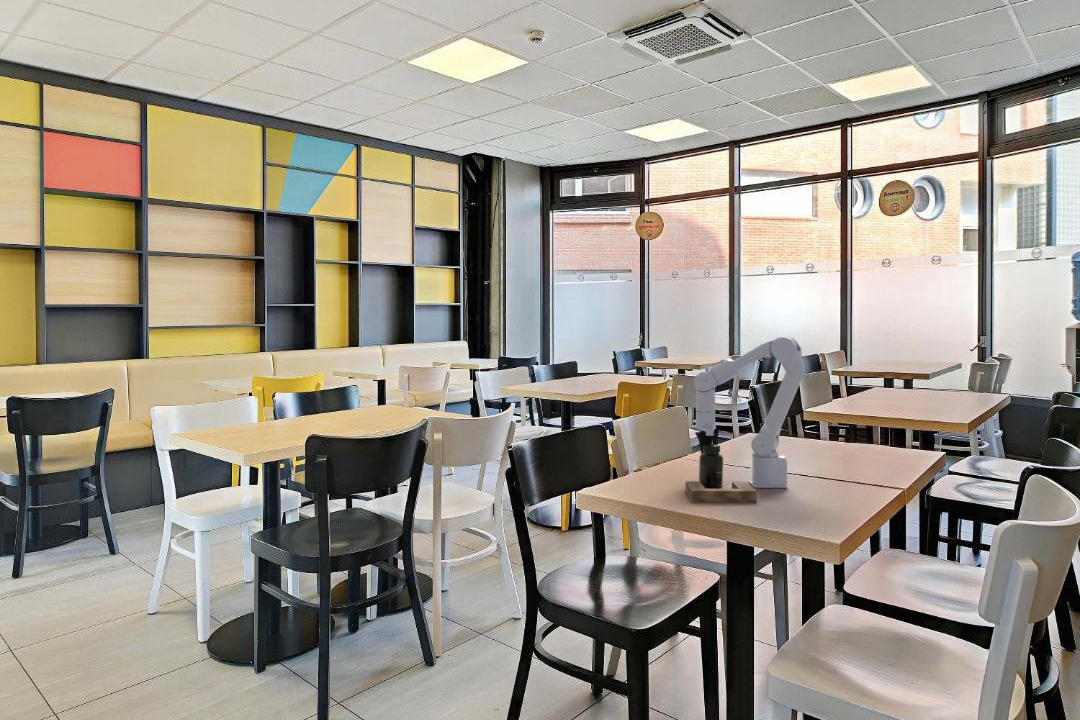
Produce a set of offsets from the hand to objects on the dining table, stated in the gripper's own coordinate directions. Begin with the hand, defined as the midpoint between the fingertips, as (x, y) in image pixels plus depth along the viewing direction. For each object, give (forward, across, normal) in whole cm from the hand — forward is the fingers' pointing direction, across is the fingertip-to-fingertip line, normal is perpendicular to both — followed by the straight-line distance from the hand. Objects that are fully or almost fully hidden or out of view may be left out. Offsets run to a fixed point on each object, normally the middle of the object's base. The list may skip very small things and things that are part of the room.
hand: (705, 455), depth 213 cm
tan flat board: (+7, +22, 0) cm, 23 cm away
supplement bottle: (+8, +8, 0) cm, 11 cm away
